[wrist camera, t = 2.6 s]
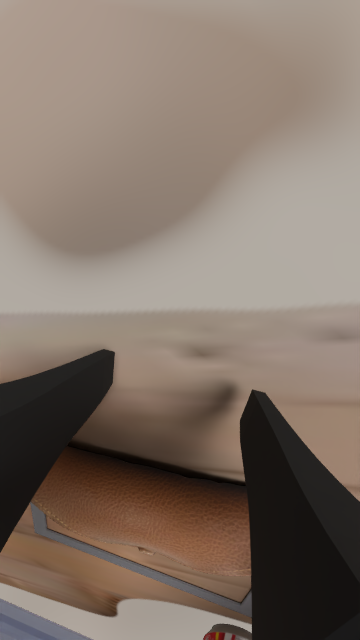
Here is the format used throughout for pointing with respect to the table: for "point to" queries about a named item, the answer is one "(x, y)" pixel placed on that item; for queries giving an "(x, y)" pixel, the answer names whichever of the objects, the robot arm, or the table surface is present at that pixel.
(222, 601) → the taped bay
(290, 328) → the table surface
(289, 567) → the robot arm
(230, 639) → the soda can
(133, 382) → the table surface
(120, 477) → the sunglasses case
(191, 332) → the table surface
